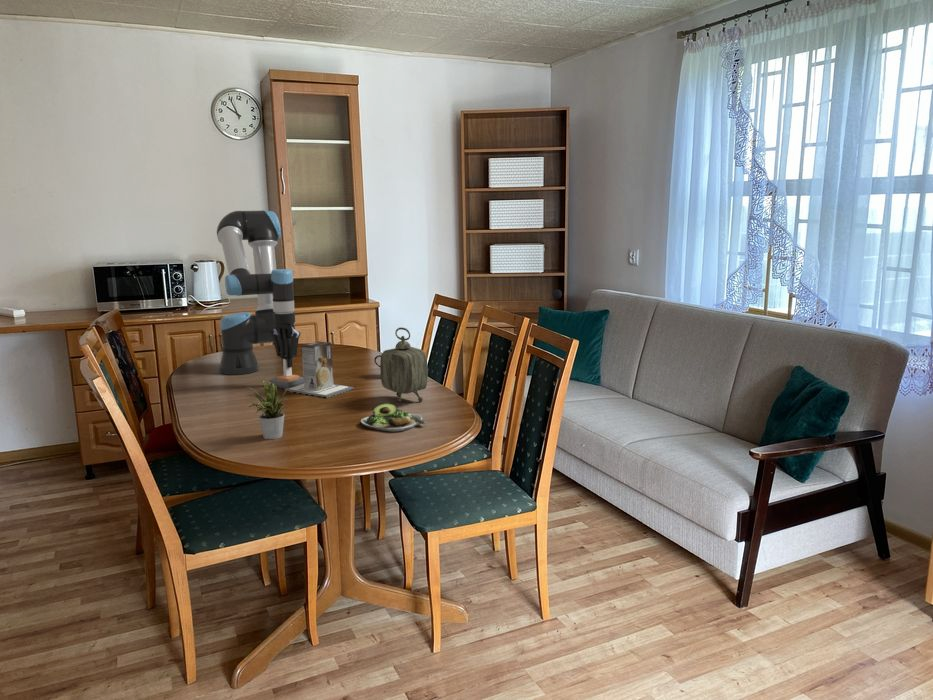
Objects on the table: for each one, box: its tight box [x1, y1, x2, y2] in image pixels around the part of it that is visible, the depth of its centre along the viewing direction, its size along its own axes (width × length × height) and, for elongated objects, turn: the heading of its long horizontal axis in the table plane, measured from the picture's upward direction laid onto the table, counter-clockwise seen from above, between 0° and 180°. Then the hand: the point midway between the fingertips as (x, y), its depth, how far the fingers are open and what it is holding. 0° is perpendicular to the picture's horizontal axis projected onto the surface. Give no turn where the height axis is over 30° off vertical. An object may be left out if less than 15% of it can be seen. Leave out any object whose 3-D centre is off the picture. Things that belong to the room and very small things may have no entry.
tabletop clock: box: [379, 327, 429, 403], centre depth 229 cm, size 14×9×25 cm, turn 48°
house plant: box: [246, 380, 291, 440], centre depth 194 cm, size 14×14×16 cm
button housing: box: [269, 376, 304, 389], centre depth 253 cm, size 9×9×2 cm
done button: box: [276, 374, 300, 381], centre depth 253 cm, size 6×6×2 cm
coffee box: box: [301, 340, 335, 391], centre depth 245 cm, size 9×6×16 cm
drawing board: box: [284, 383, 354, 399], centre depth 246 cm, size 20×14×1 cm
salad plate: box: [359, 403, 427, 433], centre depth 206 cm, size 19×18×5 cm
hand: (287, 375), depth 253 cm, fingers closed
